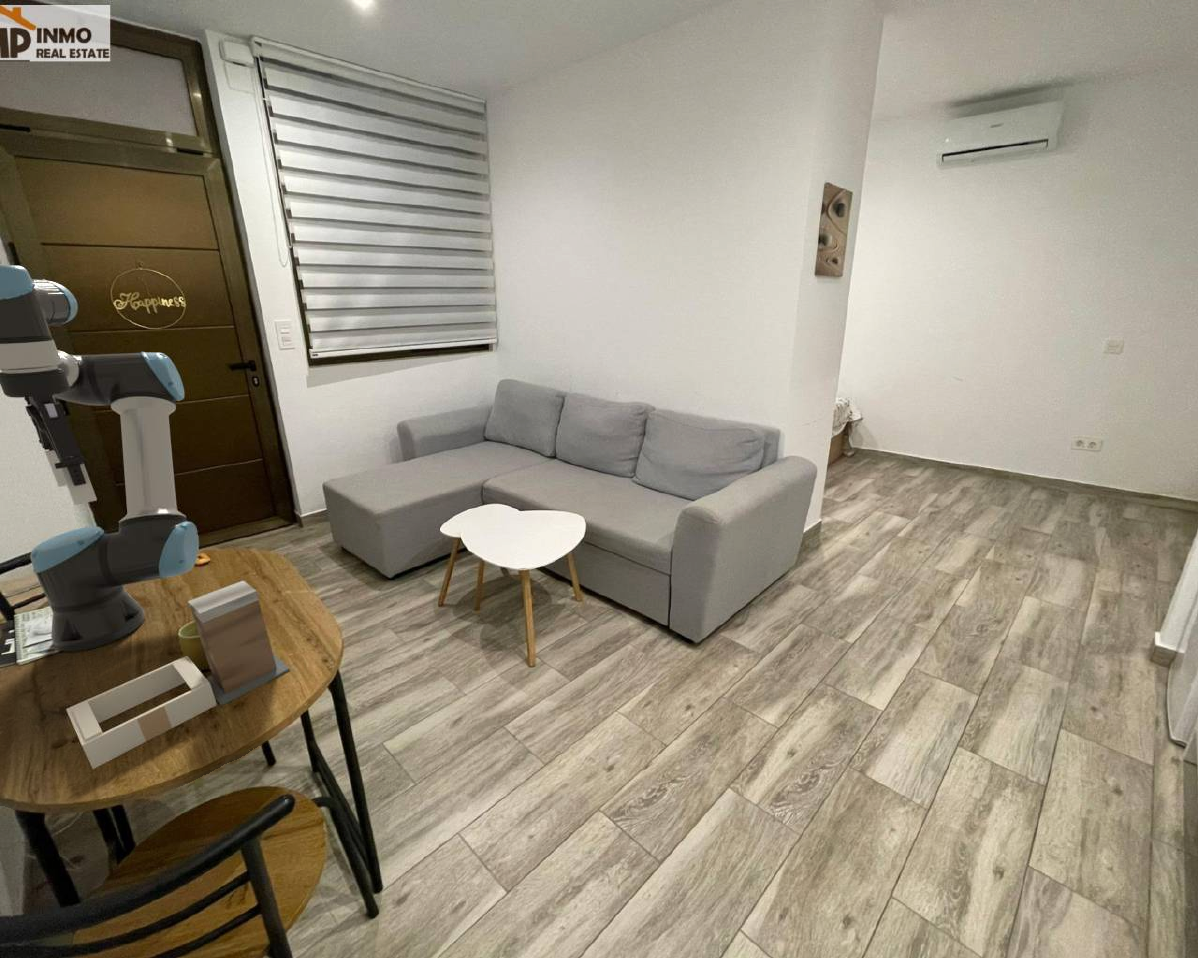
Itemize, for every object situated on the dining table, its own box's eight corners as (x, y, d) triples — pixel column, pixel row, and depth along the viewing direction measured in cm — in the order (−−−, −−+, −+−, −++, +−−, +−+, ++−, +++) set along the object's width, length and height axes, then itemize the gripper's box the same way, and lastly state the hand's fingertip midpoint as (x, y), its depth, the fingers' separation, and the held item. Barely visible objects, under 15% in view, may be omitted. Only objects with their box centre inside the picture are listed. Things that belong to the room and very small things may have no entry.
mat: (202, 682, 102) (201, 680, 102) (268, 649, 111) (268, 648, 110) (221, 705, 96) (220, 704, 96) (289, 669, 105) (289, 668, 105)
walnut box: (213, 680, 102) (187, 601, 95) (264, 655, 108) (243, 580, 102) (225, 694, 98) (199, 613, 92) (277, 668, 105) (256, 590, 98)
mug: (212, 674, 101) (196, 625, 100) (175, 680, 104) (159, 633, 103) (267, 645, 113) (253, 601, 112) (233, 651, 116) (218, 609, 115)
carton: (76, 731, 91) (65, 707, 89) (194, 676, 103) (186, 653, 101) (92, 769, 83) (81, 743, 82) (217, 704, 96) (209, 681, 94)
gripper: (-14, 365, 88) (34, 483, 95) (6, 380, 73) (61, 518, 81) (48, 360, 93) (89, 472, 101) (78, 373, 79) (124, 503, 86)
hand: (77, 493), depth 91 cm, fingers open, 13 cm apart
